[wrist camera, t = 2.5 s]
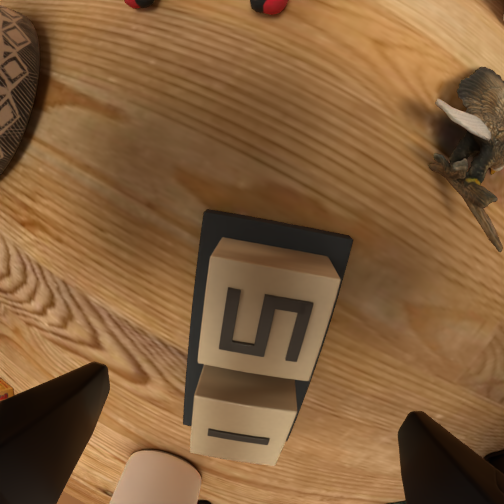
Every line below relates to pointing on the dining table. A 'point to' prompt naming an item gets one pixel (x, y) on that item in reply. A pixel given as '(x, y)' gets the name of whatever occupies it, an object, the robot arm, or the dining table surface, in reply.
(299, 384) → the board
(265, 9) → the pliers
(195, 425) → the tile
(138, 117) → the dining table surface
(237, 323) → the tile
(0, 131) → the planter
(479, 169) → the eagle figurine
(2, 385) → the chocolate bar
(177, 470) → the can
